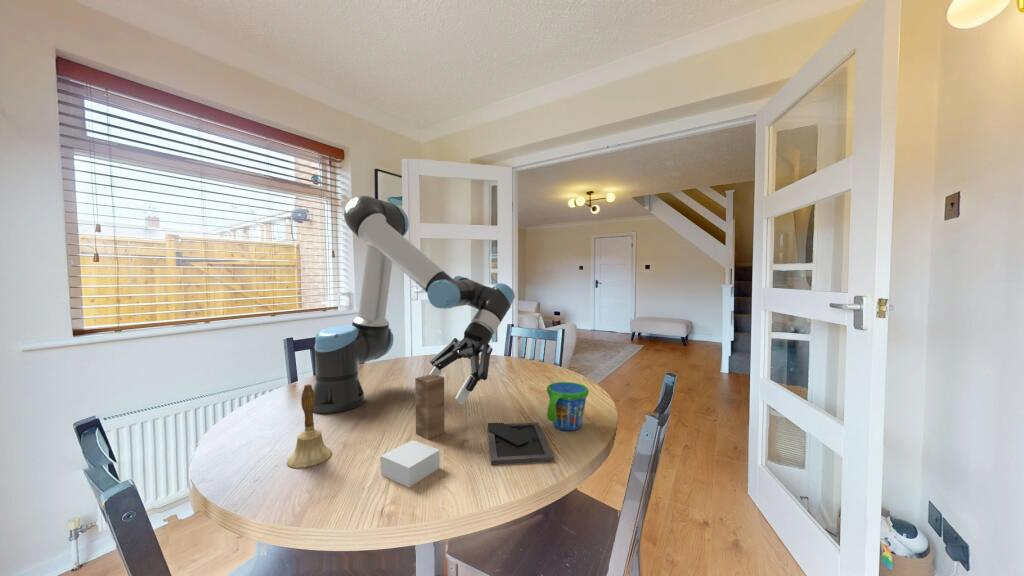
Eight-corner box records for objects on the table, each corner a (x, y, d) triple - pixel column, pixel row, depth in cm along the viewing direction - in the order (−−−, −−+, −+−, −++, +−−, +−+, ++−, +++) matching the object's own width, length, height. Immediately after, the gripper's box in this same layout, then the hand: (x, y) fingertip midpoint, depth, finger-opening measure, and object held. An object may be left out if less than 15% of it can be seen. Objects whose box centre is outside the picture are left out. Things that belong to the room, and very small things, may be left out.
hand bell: (323, 466, 71) (322, 389, 71) (279, 470, 70) (277, 392, 69) (337, 447, 79) (336, 378, 79) (297, 450, 78) (296, 380, 78)
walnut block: (415, 433, 86) (415, 378, 86) (432, 427, 90) (431, 373, 90) (427, 439, 83) (427, 382, 83) (444, 432, 87) (444, 377, 86)
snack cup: (568, 412, 100) (569, 377, 100) (600, 423, 93) (601, 385, 93) (532, 428, 90) (532, 389, 89) (565, 442, 82) (565, 399, 82)
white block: (380, 476, 68) (380, 455, 68) (412, 458, 75) (412, 440, 75) (408, 489, 64) (408, 467, 64) (439, 469, 71) (439, 449, 71)
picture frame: (487, 430, 90) (490, 468, 72) (487, 422, 90) (490, 458, 72) (538, 428, 91) (553, 464, 73) (538, 420, 91) (553, 455, 73)
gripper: (522, 342, 93) (483, 414, 82) (459, 333, 109) (419, 392, 98) (509, 324, 89) (466, 398, 77) (445, 317, 104) (402, 378, 93)
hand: (440, 395), depth 87 cm, fingers open, 13 cm apart
